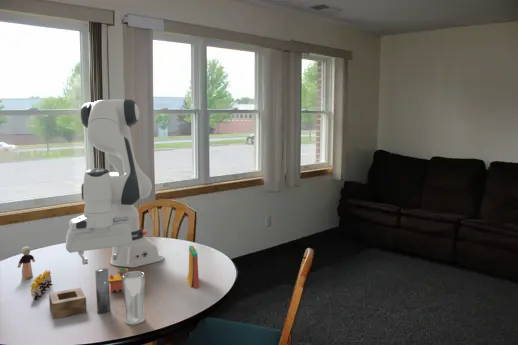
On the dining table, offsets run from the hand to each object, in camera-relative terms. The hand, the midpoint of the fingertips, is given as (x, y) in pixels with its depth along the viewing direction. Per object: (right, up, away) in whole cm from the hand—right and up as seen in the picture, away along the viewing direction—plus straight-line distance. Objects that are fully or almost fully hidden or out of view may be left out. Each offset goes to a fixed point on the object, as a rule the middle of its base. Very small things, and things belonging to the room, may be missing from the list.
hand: (100, 261), depth 152 cm
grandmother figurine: (-40, -13, +33) cm, 54 cm away
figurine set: (-27, -15, +19) cm, 36 cm away
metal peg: (0, -17, +3) cm, 17 cm away
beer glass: (+12, -18, -4) cm, 22 cm away
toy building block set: (+10, -14, +24) cm, 30 cm away
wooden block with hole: (-12, -17, +4) cm, 21 cm away
